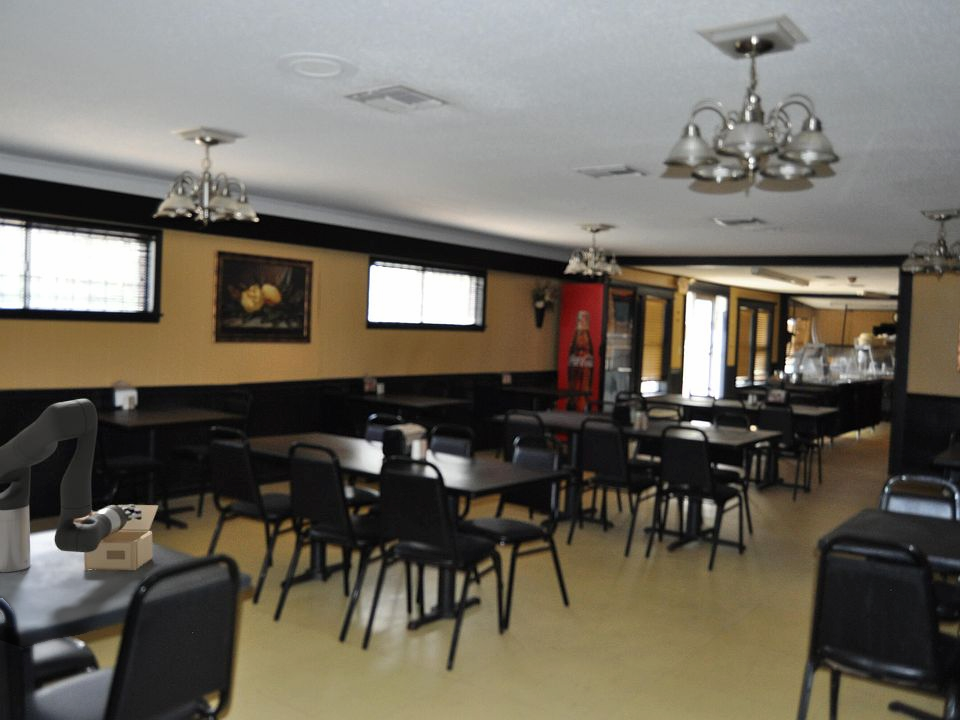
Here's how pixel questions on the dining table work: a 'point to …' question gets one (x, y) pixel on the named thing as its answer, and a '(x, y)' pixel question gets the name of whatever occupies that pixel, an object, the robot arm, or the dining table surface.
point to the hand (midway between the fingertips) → (132, 507)
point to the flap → (146, 520)
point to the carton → (121, 551)
